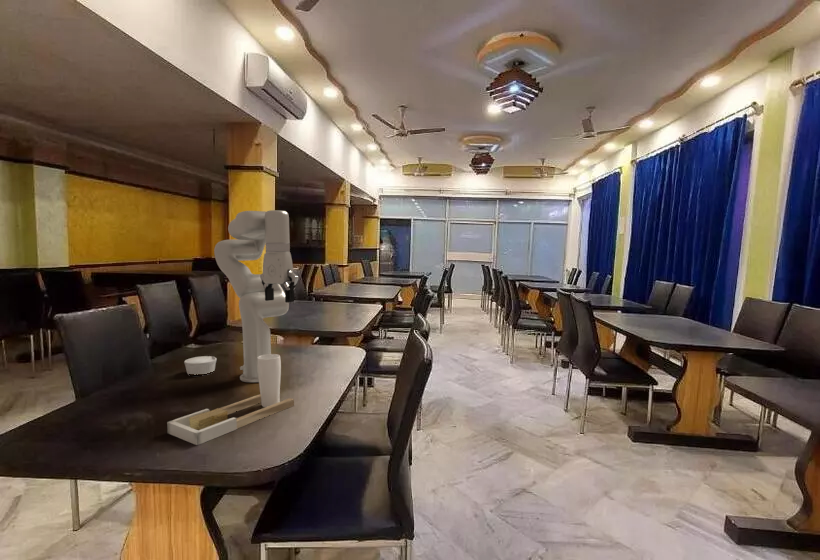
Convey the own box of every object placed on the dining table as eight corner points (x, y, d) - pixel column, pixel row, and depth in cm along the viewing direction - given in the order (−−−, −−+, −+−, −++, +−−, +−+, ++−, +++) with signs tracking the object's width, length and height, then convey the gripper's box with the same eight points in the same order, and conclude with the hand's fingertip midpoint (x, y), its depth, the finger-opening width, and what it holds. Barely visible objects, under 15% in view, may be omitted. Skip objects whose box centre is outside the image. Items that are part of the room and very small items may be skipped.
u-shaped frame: (167, 433, 112) (167, 421, 112) (207, 419, 121) (206, 408, 121) (197, 445, 105) (196, 433, 105) (236, 429, 114) (236, 418, 114)
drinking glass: (286, 402, 134) (285, 354, 133) (273, 410, 128) (271, 360, 126) (268, 400, 136) (266, 353, 135) (254, 407, 130) (252, 358, 129)
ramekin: (219, 373, 166) (218, 360, 166) (186, 378, 160) (186, 364, 160) (214, 367, 176) (213, 354, 175) (183, 371, 169) (182, 358, 169)
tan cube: (190, 432, 113) (189, 417, 112) (204, 427, 116) (203, 412, 116) (199, 436, 111) (198, 420, 110) (213, 430, 114) (212, 415, 114)
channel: (208, 419, 121) (207, 412, 121) (266, 398, 138) (266, 392, 138) (236, 429, 114) (235, 421, 114) (294, 405, 131) (293, 399, 131)
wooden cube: (205, 427, 116) (204, 413, 116) (218, 422, 119) (218, 408, 119) (214, 430, 114) (214, 415, 114) (228, 425, 117) (227, 410, 117)
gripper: (250, 249, 142) (252, 300, 144) (287, 248, 133) (288, 304, 134) (269, 249, 149) (271, 298, 150) (305, 248, 139) (306, 301, 141)
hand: (279, 301), depth 142 cm, fingers open, 9 cm apart
